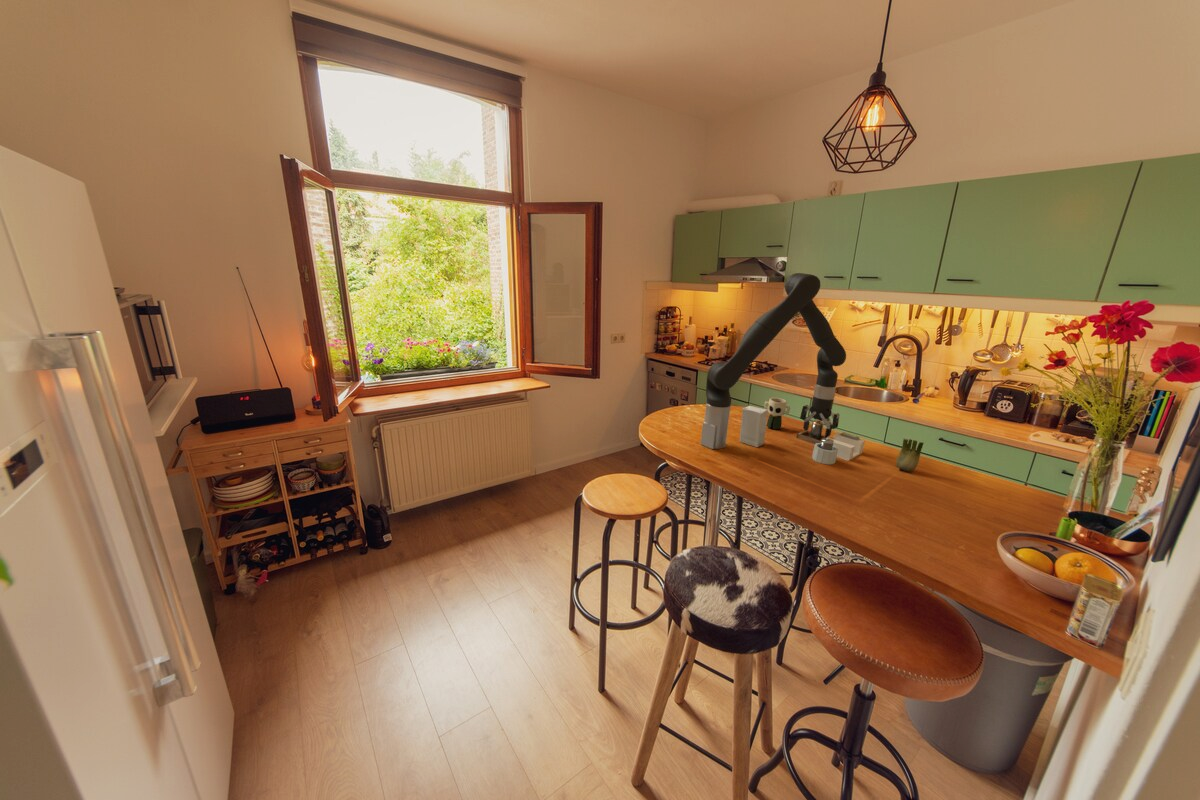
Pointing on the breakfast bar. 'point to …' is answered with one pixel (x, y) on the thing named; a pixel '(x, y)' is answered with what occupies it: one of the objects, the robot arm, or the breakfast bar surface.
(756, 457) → the breakfast bar surface
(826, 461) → the white faceted round pot
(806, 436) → the trough
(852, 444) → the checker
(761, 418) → the skincare box
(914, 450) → the fennel bulb
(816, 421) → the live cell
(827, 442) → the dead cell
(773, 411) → the character mug
